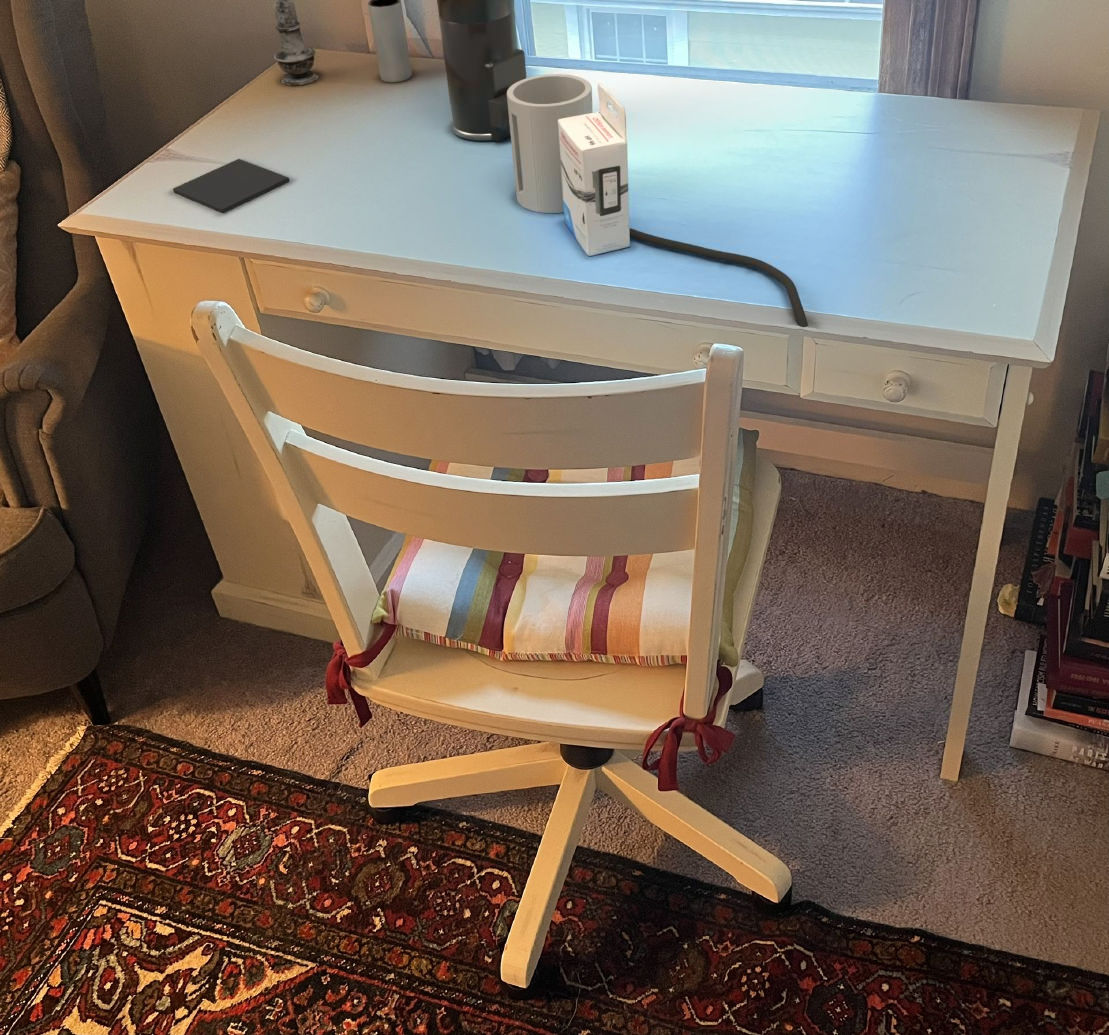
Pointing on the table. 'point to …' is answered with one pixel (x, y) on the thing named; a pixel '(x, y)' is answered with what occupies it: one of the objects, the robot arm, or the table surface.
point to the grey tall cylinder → (390, 40)
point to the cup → (542, 135)
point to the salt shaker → (293, 47)
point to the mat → (231, 185)
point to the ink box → (596, 176)
